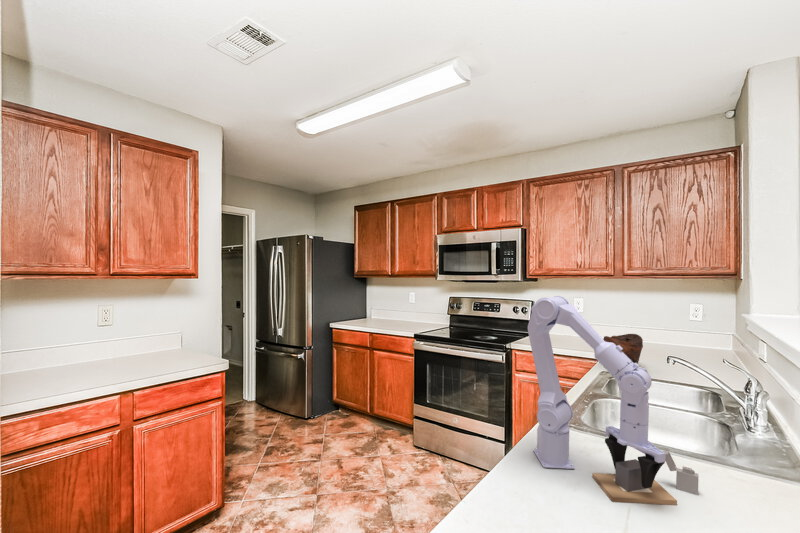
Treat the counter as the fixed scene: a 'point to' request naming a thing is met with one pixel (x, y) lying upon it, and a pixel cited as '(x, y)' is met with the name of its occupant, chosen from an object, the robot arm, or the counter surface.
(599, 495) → the counter surface
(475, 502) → the counter surface
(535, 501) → the counter surface
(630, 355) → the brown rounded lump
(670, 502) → the board
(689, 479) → the lighter
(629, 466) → the block
